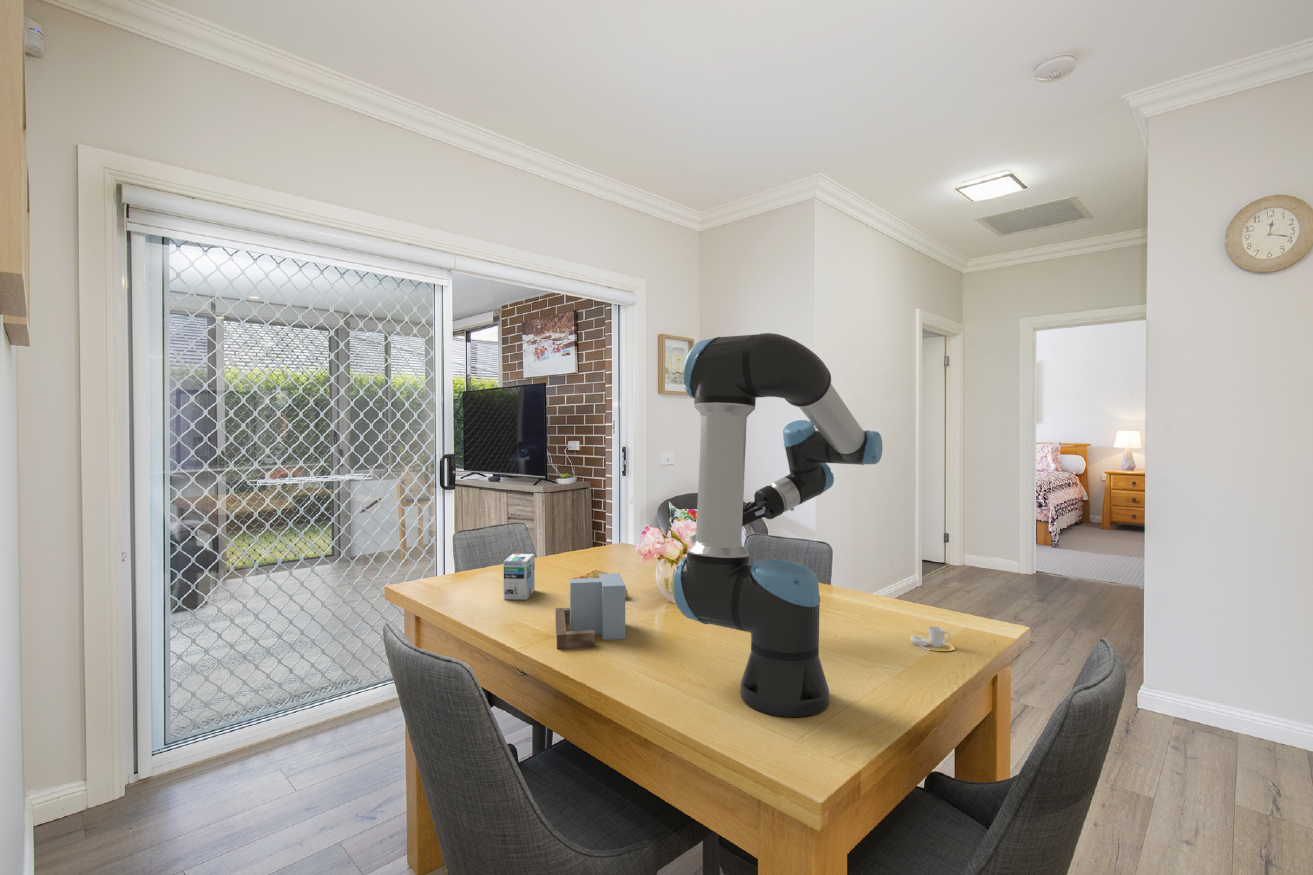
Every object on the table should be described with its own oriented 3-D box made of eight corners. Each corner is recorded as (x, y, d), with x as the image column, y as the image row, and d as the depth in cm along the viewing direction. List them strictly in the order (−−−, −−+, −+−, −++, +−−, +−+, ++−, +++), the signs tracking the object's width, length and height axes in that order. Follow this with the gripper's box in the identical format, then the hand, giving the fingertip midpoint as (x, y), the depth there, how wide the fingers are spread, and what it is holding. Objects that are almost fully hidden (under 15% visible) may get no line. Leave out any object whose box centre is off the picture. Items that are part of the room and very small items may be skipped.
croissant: (633, 610, 173) (642, 582, 176) (612, 600, 166) (622, 571, 169) (579, 595, 186) (588, 570, 189) (557, 586, 179) (567, 559, 182)
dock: (588, 618, 154) (588, 606, 154) (594, 646, 134) (594, 632, 134) (555, 620, 152) (555, 608, 152) (557, 648, 132) (557, 634, 132)
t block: (619, 622, 151) (619, 573, 151) (625, 638, 139) (625, 585, 139) (569, 624, 149) (569, 574, 149) (571, 641, 137) (571, 587, 137)
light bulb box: (527, 600, 170) (527, 561, 170) (502, 600, 170) (502, 560, 170) (535, 590, 181) (535, 553, 180) (512, 590, 181) (512, 553, 181)
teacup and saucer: (906, 646, 136) (906, 628, 136) (920, 638, 142) (920, 620, 141) (948, 657, 130) (949, 637, 130) (961, 647, 136) (961, 628, 135)
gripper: (796, 512, 142) (710, 558, 134) (769, 513, 154) (689, 555, 147) (783, 482, 142) (696, 526, 134) (757, 486, 155) (676, 526, 147)
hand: (692, 541), depth 141 cm, fingers closed
